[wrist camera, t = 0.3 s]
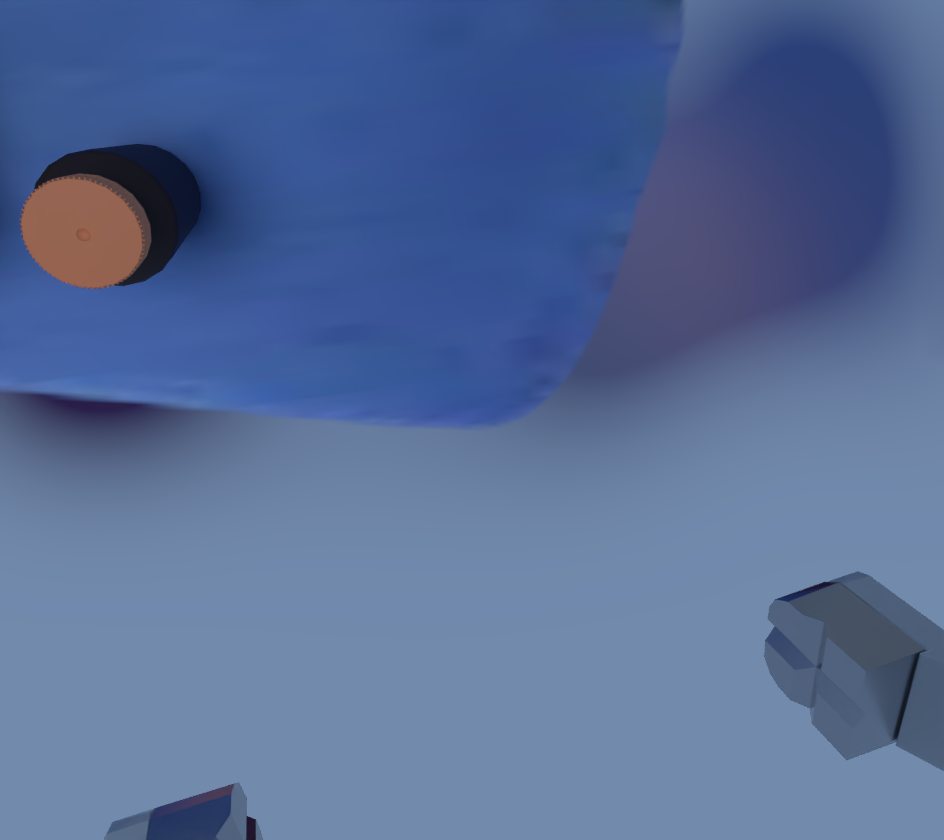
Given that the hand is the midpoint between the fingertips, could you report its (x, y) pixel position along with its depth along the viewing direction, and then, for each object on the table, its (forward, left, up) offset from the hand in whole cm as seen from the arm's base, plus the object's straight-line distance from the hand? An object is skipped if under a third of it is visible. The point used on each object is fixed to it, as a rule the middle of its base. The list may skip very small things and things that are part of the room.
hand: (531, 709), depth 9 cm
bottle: (-4, -11, -47) cm, 49 cm away
